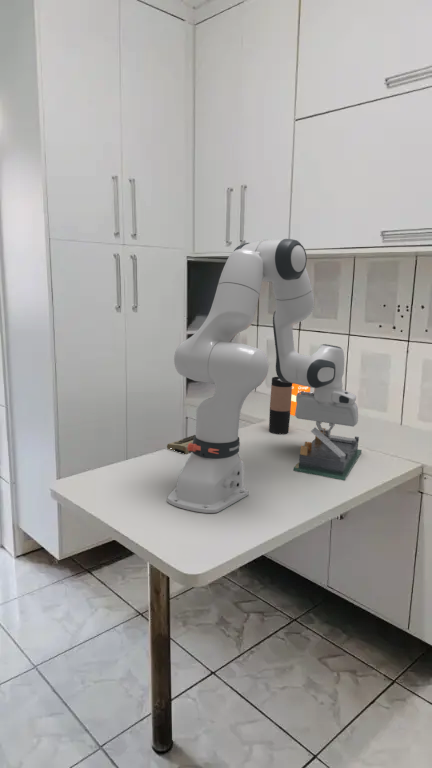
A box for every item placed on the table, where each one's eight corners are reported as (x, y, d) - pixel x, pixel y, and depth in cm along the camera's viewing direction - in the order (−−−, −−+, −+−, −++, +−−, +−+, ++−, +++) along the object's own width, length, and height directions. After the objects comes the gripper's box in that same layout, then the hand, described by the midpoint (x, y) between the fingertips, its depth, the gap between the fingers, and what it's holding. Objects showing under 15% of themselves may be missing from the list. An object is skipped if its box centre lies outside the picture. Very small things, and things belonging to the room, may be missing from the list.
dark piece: (344, 480, 147) (346, 456, 146) (293, 470, 153) (295, 447, 152) (361, 452, 172) (363, 432, 171) (316, 445, 178) (318, 425, 177)
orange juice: (293, 415, 217) (297, 368, 213) (281, 410, 225) (284, 365, 221) (308, 414, 221) (312, 367, 217) (296, 409, 229) (299, 364, 225)
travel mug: (277, 427, 198) (280, 375, 195) (293, 432, 193) (297, 379, 189) (264, 430, 193) (267, 377, 189) (280, 435, 188) (284, 381, 184)
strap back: (354, 443, 166) (354, 441, 166) (317, 437, 171) (317, 435, 171) (356, 441, 169) (356, 438, 169) (319, 435, 174) (319, 433, 174)
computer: (196, 439, 181) (196, 430, 180) (215, 444, 176) (215, 435, 175) (166, 450, 168) (166, 440, 167) (185, 456, 164) (186, 446, 163)
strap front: (342, 459, 150) (344, 457, 150) (310, 431, 153) (312, 429, 153) (344, 456, 153) (346, 454, 153) (313, 428, 156) (315, 427, 155)
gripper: (294, 392, 170) (291, 432, 173) (357, 400, 162) (353, 442, 165) (299, 388, 176) (296, 428, 179) (361, 396, 168) (357, 437, 171)
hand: (324, 435), depth 172 cm, fingers closed, pressing on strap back
